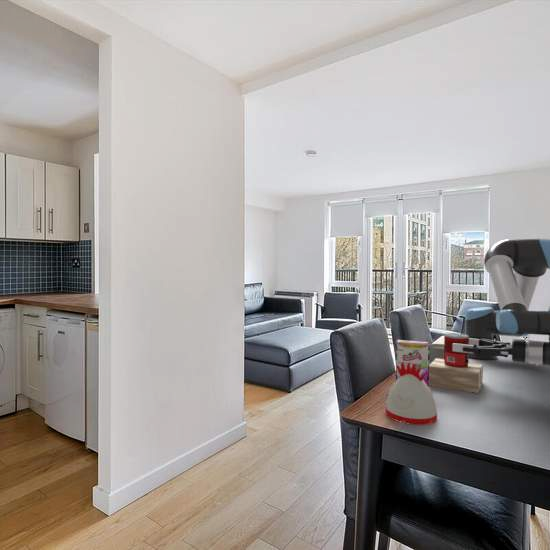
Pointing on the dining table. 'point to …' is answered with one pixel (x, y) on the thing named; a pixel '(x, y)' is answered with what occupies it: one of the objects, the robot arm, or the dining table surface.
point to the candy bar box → (413, 357)
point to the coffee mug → (436, 352)
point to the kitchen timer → (411, 398)
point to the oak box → (456, 376)
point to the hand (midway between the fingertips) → (455, 343)
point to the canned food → (451, 356)
